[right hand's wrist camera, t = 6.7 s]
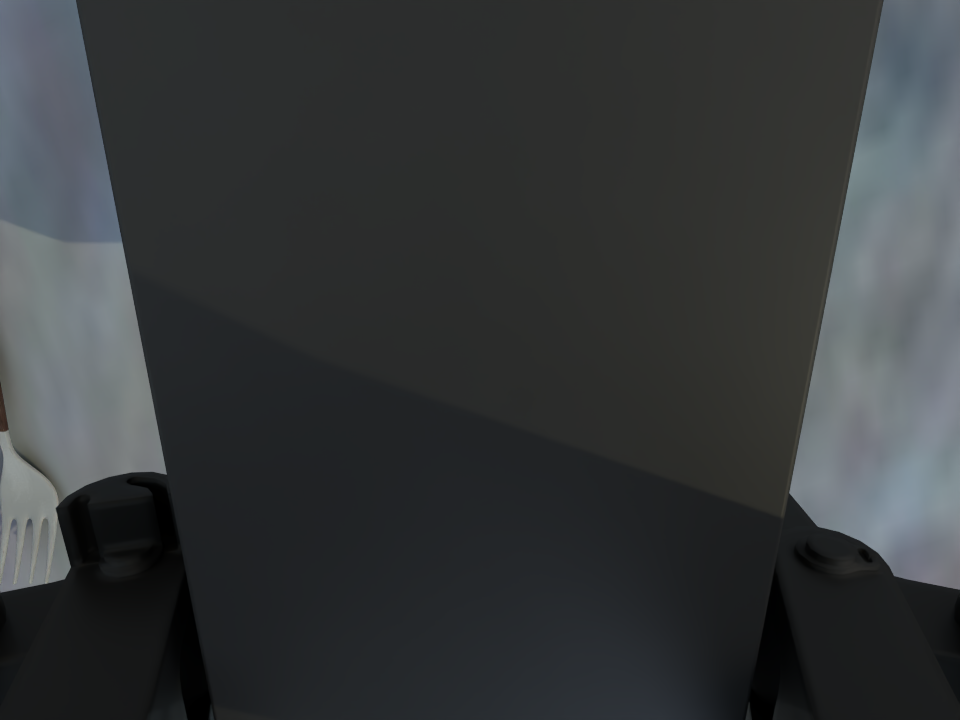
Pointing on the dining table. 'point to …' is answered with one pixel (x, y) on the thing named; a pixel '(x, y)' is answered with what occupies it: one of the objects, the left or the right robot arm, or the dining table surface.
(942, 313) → the dining table surface
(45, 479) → the fork
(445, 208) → the bar
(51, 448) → the dining table surface
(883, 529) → the dining table surface
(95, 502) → the right robot arm
